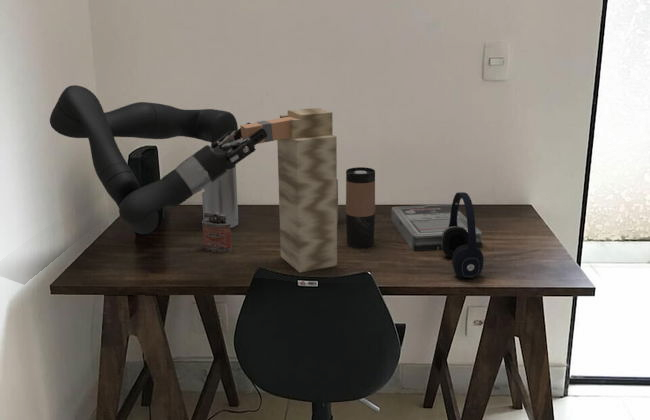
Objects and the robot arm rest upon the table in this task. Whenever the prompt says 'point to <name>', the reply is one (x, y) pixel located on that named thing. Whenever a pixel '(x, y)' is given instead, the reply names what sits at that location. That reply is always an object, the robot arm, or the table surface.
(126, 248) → the table surface
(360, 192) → the travel mug
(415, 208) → the hard drive
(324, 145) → the socket tower
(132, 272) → the table surface
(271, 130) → the bar
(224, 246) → the lighter
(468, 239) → the headphones
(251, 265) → the table surface
